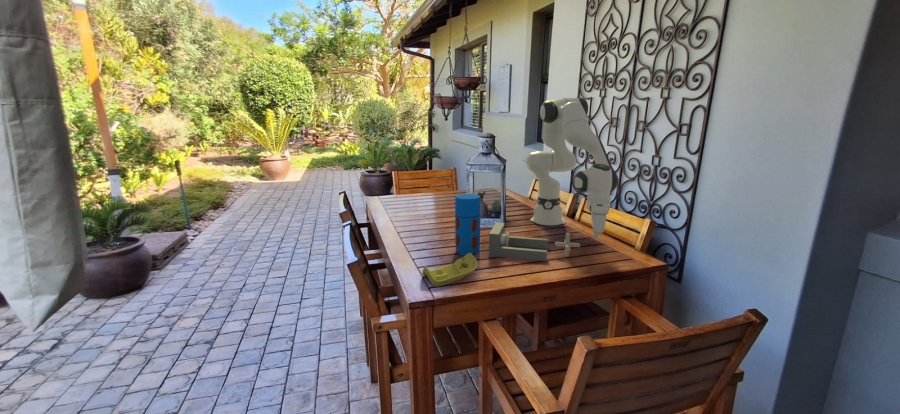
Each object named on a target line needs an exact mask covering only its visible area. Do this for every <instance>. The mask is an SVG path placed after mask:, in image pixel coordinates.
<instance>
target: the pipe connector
mask: <svg viewBox="0 0 900 414" xmlns="http://www.w3.org/2000/svg"><path fill="white" fill-rule="evenodd" d="M554 245H555V247H564V253H563V254H564V257H566V258H567V257H568V258H569V256H570V251H571V248H580V247H581V243H580V242H571V233H570V232H566V233H565V239H564V241H555V242H554Z"/></svg>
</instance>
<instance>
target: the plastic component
mask: <svg viewBox="0 0 900 414" xmlns="http://www.w3.org/2000/svg"><path fill="white" fill-rule="evenodd" d="M478 263H479V262H478V259H476V258H475V255H474V256H473V255H472V254H471V253H468V254H466V255H465V256H462V257H461V258H458V259H456V260H455V262H452V263H449V264H446V265H442V266H440V267H437V268H434V269H429V267H428V266H423V270H422V272H421V275H422V276H423V277H424V278H428V280H429V281H430V283H431V284H432V285H433V286H434V287H442V286H445V285H449V284H451V283H454V282H457V281H461V280H462V279H463V278H464V277H465V276H469V275H470V274H472V273H473V272H474V271H475V270H476V269H477V267H478Z"/></svg>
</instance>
